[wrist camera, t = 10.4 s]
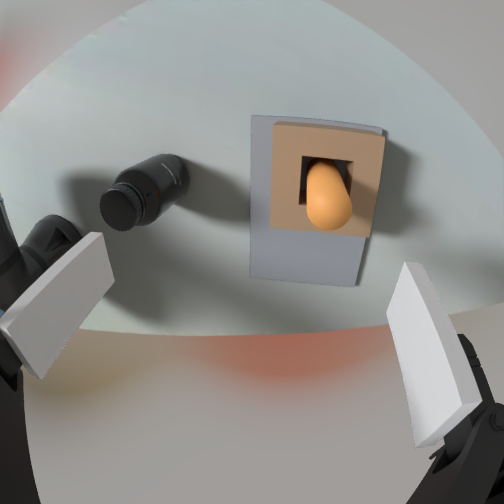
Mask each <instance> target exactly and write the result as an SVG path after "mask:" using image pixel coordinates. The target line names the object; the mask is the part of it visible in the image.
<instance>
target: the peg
mask: <svg viewBox="0 0 504 504" xmlns="http://www.w3.org/2000/svg"><path fill="white" fill-rule="evenodd" d="M307 215H308V218H309V219H310V221H311V222H312V223H313V224H314V225H315V226H316V227H318V228H320V229H323V230H336V229H339V228H341V227H343V226H344V225H345V224H346V223H347V222H348V221H349V219H350V217H351V215H352V203H351V200H350V198H349V195H348V193H347V190H346V188H345V185H344V183H343V180H342V178H341V176H340V173H339V171H338V168H337V166H336V164H335V163H334V161H333V160H332V159H330V158H322V157H315V158H314V159H312V160H311V161H310V162H309V164H308V166H307Z"/></svg>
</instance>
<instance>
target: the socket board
mask: <svg viewBox="0 0 504 504" xmlns="http://www.w3.org/2000/svg"><path fill="white" fill-rule="evenodd" d="M382 130H383V129H382V128H380V127H374V126H368V125H361V124H354V123H347V122H339V121H331V120H321V119H311V118H298V117H283V116H257V115H252V116H251V187H250V277H252V278H261V279H271V280H280V281H290V282H300V283H310V284H321V285H332V286H343V287H354V286H355V282H356V278H357V274H358V270H359V266H360V262H361V257H362V253H363V249H364V244H365V239H366V237H368V238H369V236H370V232H371V227H372V222H373V217H374V211H375V206H376V200H377V194H378V188H379V182H380V176H381V169H382V162H383V154H384V146H385V137H384V136H382ZM315 157H322V158H330V159H332V160H333V161H334V163H335V164H336V166H337V168H338V171H339V173H340V176H341V178H342V180H343V183H344V185H345V188H346V190H347V193H348V195H349V198H350V200H351V203H352V215H351V217H350V219H349V221H348V222H347V223H346V224H345V225H344V226H343V227H341V228H339V229H336V230H323V229H320V228H318V227H316V226H315V225H314V224H313V223H312V222H311V221H310V219H309V218H308V215H307V166H308V164H309V162H310V161H311V160H312V159H314V158H315Z"/></svg>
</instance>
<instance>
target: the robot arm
mask: <svg viewBox="0 0 504 504" xmlns="http://www.w3.org/2000/svg"><path fill="white" fill-rule="evenodd" d="M3 201H4V200H3V198H2V197H1V194H0V504H41V503H40V499H39V496H38V492H37V488H36V484H35V480H34V475H33V470H32V465H31V461H30V454H29V448H28V440H27V433H26V423H25V412H24V393H23V372H22V370H21V369H20V367H21V366H22V364H23V365H24V366H25V368H26V369H27V370H28V372H29V373H30V374H31V375H33V376H35V377H36V378H38V379H40V380H42V379H43V377H44V376H45V374H46V373H47V371H48V370H49V368H50V367H51V365H52V364H53V362H54V361H55V360H56V358H57V357H58V355H59V354H60V352H61V351H62V350H63V348H64V347H65V345H66V344H67V343H68V341H69V340H70V338H71V337H72V336H73V334H74V333H75V332H76V330H77V329H78V328H79V326H80V325H81V324H82V322H83V321H84V320H85V318H86V317H87V316H88V315H89V313H90V312H91V311H92V309H93V308H94V307H95V306H96V304H97V303H98V302H99V301H100V299H101V298H102V297H103V296H104V294H105V293H106V292H107V291H108V289H109V288H110V287H111V286H112V285H113V283H114V282H115V279H114V276H113V272H112V269H111V265H110V261H109V257H108V253H107V249H106V245H105V241H104V237H103V233H100V232H90V233H89V234H87V235H86V236H85V237H84V238H83V239H82V238H81V236H80V235H79V233H78V232H77V231H76V229H75V228H74V227H73V226H72V225H71V224H70V223H69V222H68V221H66V220H65V219H63V218H62V217H59V216H57V215H48V216H46V217H44V218H43V219H41V220H40V221H39V222H38V223H37V224H36V225H35V226H34V228H33V229H32V231H31V232H30V234H29V235H28V237H27V238H26V240H25V241H24V243H23V244H22V245H21V246H20V247H18V244H17V241H16V239H15V236H14V233H13V231H12V228H11V225H10V222H9V219H8V216H7V213H6V210H5V206H4V203H3ZM386 314H387V318H388V321H389V325H390V328H391V332H392V336H393V339H394V343H395V347H396V351H397V355H398V359H399V364H400V368H401V372H402V377H403V382H404V386H405V391H406V396H407V401H408V407H409V412H410V418H411V424H412V431H413V437H414V445H415V448H420V447H426V446H431V445H435V444H436V443H437V442H438V441H439V440H441V439H442V438H443V437H444V441H445V445H444V446H442V447H441V448H440V449H438V450H437V451H436V452H435V453H433V454H432V455H431V456H430V457H429V459H430V460H431V459H433V458H434V457H435V456H436V458H435V460H434V462H433V463H432V465H431V467H430V468H429V470H428V472H427V473H426V475H425V476H424V478H423V480H422V481H421V483H420V484H419V486H418V487H417V489H416V490H415V492H414V493H413V495H412V496H411V497H410V499H409V500H408V501H407V503H406V504H504V405H503V404H500V403H495V401H494V399H493V396H492V393H491V390H490V387H489V384H488V382H487V379H486V376H485V374H484V371H483V369H482V367H480V366H481V364H480V361H479V359H478V358H477V354H476V352H475V350H474V348H473V345H472V344H471V343H470V341H469V340H468V339H467V338H466V337H465V335H463V334H456V331H455V329H454V327H453V325H452V323H451V321H450V319H449V316H448V314H447V312H446V310H445V308H444V306H443V304H442V302H441V300H440V298H439V296H438V294H437V293H436V291H435V289H434V287H433V285H432V283H431V281H430V280H429V278H428V276H427V274H426V272H425V271H424V269H423V267H422V265H421V264H420V263H415V262H405V261H404V264H403V268H402V271H401V274H400V276H399V279H398V282H397V285H396V288H395V291H394V293H393V296H392V299H391V301H390V304H389V307H388V309H387V312H386Z"/></svg>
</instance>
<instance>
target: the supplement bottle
mask: <svg viewBox="0 0 504 504" xmlns="http://www.w3.org/2000/svg"><path fill="white" fill-rule="evenodd" d="M188 185H189V175H188V171H187V169H186V167H185V165H184V164H183V162H182V161H181V160H180V159H178V158H177V157H175V156H173V155H170V154H160V155H156V156H154V157H152V158H149V159H147V160H145V161H143V162H141V163H138V164H136V165H134V166H132V167H130V168H128V169H126V170H124V171H122V172H121V173H120V174H119V175H118V176H117V177H116V178H115V180H114V182H113V184H112V187H111V188H109V189H108V190H106V191H105V192H104V193H103V195H102V197H101V199H100V209H101V213H102V216H103V218H104V220H105V221H106V223H107V224H108V225H109V226H110V227H111V228H113V229H115V230H118V231H122V232H123V231H127V230H130V229H131V228H133V227H134V226H144V225H148V224H150V223H152V222H153V221H155V220H156V219H157V218H158V217H160V216H161V215H162V214H163V213H164V212H165V211H166V210H168V209H169V208H170V207H171V206H172V205H173V204H175V203H176V202H177V201H178V200H179V199H180V198H181V197H182V196H183V195H184V194H185V193H186V191H187V189H188Z"/></svg>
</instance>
